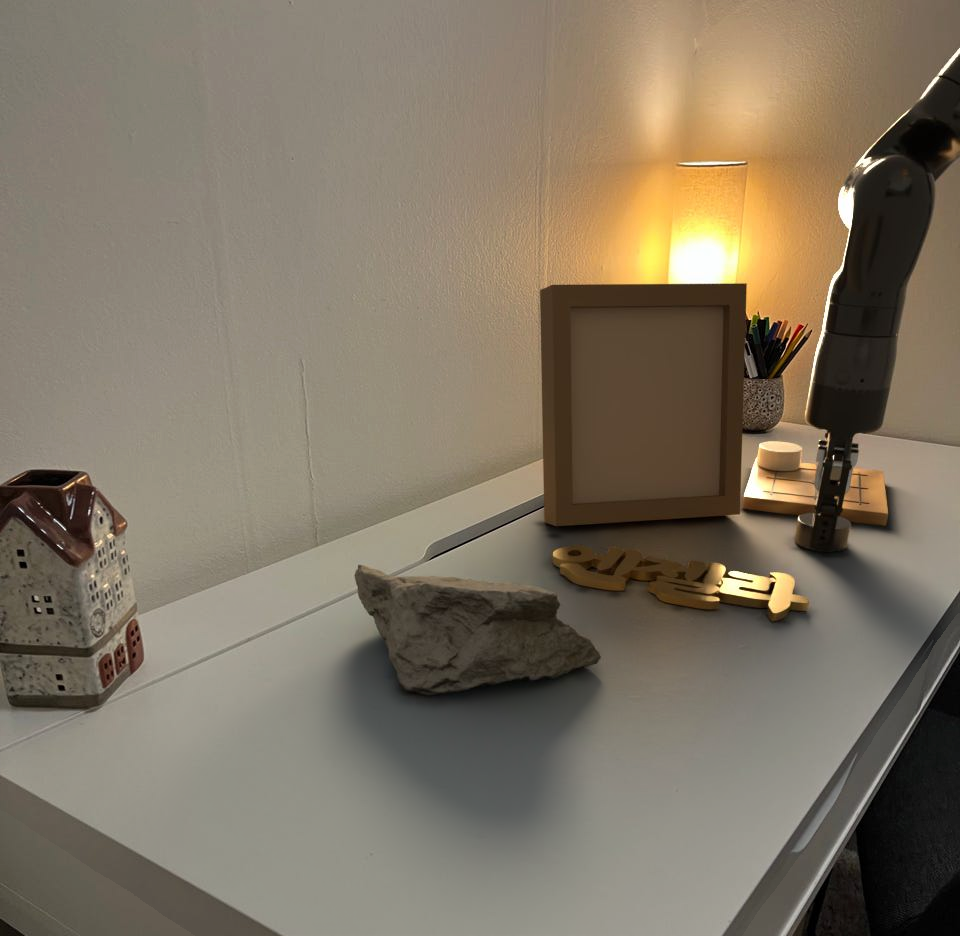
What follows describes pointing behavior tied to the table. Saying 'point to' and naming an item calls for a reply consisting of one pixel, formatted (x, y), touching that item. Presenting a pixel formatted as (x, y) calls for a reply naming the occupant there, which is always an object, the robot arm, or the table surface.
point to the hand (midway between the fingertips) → (821, 538)
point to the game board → (799, 496)
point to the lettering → (680, 580)
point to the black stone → (806, 528)
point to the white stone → (779, 456)
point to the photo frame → (642, 401)
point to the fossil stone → (469, 631)
